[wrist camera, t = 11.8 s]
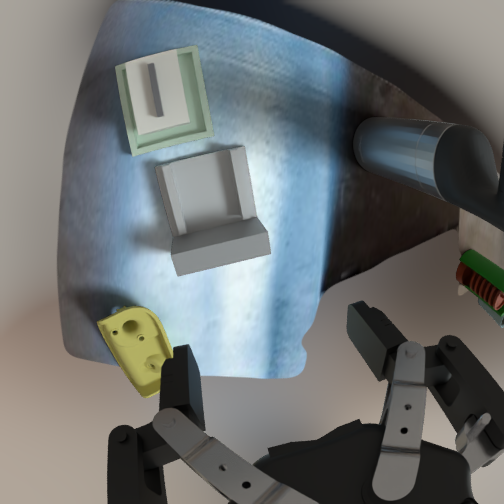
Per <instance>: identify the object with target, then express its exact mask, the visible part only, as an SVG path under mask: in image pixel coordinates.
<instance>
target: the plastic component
mask: <svg viewBox="0 0 504 504" xmlns="http://www.w3.org/2000/svg"><path fill="white" fill-rule="evenodd" d="M97 325H98V327H99V329H100V332H101V334H102V336H103V338H104V339H105V341H106V343H107V345H108V347H109V348H110V350H111V352H112V354H113V355H114V357H115V359H116V360H117V362H118V364H119V365H120V367H121V369H122V370H123V371H124V373H125V374H126V376H127V378H128V379H129V380H130V382H131V383H132V384H133V386H134V387H135V388H136V390H137V391H138V392H139V393H140V395H141V396H142V397H144V398H149V397H151V396H153V395H155V394H157V393H159V392H160V385H161V383H160V379H161V367H162V365H163V363H164V361H165V359H169V358H173V350H172V348H171V345H170V343H169V340H168V338H167V335H166V333H165V330H164V328H163V325H162V323H161V322H160V320H159V318H158V317H157V316H156V315H155V314H154V313H153V312H152V311H151V310H149V309H147V308H145V307H141V306H130V307H127V308H126V306H123V308H121V309H117V312H116V313H114V314H112V315H110V316H108V317H106V318H104V319H101V320H99V321H97ZM115 330H116V331H117V332H116V333H112V332H113V331H115Z"/></svg>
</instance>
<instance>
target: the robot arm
mask: <svg viewBox="0 0 504 504" xmlns="http://www.w3.org/2000/svg"><path fill="white" fill-rule="evenodd" d="M353 149H354V154H355V157H356V159H357V161H358V163H359V164H360V165H361V166H362V167H363V168H364V169H365V170H367V171H369V172H371V173H374V174H377V175H380V176H383V177H385V178H388V179H391V180H394V181H396V182H399V183H402V184H404V185H407V186H410V187H412V188H415V189H417V190H420V191H422V192H425V193H427V194H430V195H433V196H435V197H437V198H440V199H442V200H444V201H447V202H449V203H451V204H454V205H456V206H458V207H460V208H462V209H464V210H466V211H468V212H470V213H472V214H474V215H476V216H478V217H480V218H482V219H483V220H485V221H487V222H489V223H490V224H492V225H494V226H495V227H497V228H498V229H500V230H502V231H503V232H504V158H502V163H501V171H500V178H499V180H498V176H497V171H496V166H495V161H494V155H493V152H492V148H491V146H490V143H489V141H488V140H487V138H486V137H485V135H484V134H483V133H481V132H480V131H479V130H477V129H476V128H474V127H470V126H465V125H458V124H451V123H444V122H434V121H425V120H415V119H402V118H387V117H371V118H368V119H366V120H364V121H363V122H362V123H361V124H360V125H359V126H358V128H357V130H356V132H355V135H354V140H353ZM502 156H503V157H504V145H503V153H502ZM347 333H348V336H349V338H350V339H351V341H352V342H353V344H354V345H355V347H356V348H357V350H358V351H359V353H360V354H361V356H362V357H363V359H364V360H365V362H366V363H367V365H368V366H369V368H370V369H371V371H372V372H373V373H374V375H375V377H376V378H377V380H378V381H382V380H384V379H387V381H388V386H387V391H386V397H385V401H384V406H383V411H382V415H381V419H380V422H379V424H371V423H369V424H362V423H361V422H360V420H359V419H358V420H355V421H353V422H350V423H348V424H345V425H342V426H339V427H337V428H336V429H334V430H333V431H331V432H329V433H328V434H326V435H325V436H323V437H321V438H319V439H317V440H311V441H299V442H290V443H286V444H282V445H278V446H275V447H270V448H268V451H269V454H267V455H265V456H263V457H262V458H260V459H259V460H257V461H256V462H255V463H254V464H253V465H251V464H250V463H248V462H247V461H246V460H244V459H243V458H241V457H240V456H239V455H237V454H236V453H234V452H233V451H232V450H230V449H229V448H228V447H226V446H225V445H224V444H222V443H221V442H220V441H218V440H217V439H216V438H214V437H210V436H208V435H207V434H206V433H204V432H203V431H205V420H204V411H203V401H202V391H201V381H200V380H201V379H200V372H199V368H198V365H197V363H196V360H195V358H194V355H193V353H192V350H191V348H190V346H189V344H187V345H182V346H176V347H174V348H173V358H169V359H165V361H164V363H163V365H162V367H161V379H160V383H161V385H160V403H159V412H158V413H157V414H156V415H155V416H154V419H153V421H152V422H150V423H149V424H147V425H144V426H141V427H139V428H136V429H134V428H133V427H131V426H129V425H121V426H118V427H116V428H114V429H113V430H112V431H111V433H110V435H109V440H108V464H107V494H108V495H107V496H108V497H107V498H108V504H167V496H166V489H165V482H164V472H163V465H165V464H167V463H170V462H173V461H175V460H177V459H181V460H183V461H184V462H185V463H186V464H187V465H188V466H189V467H190V468H191V469H192V470H193V471H194V472H195V473H197V474H198V475H199V476H200V477H201V478H202V479H203V480H205V481H206V482H207V483H208V484H209V485H210V486H211V487H213V488H214V489H215V490H216V491H217V492H218V493H220V494H221V495H222V496H223V497H225V498H226V499H227V500H229V503H228V504H478V503H477V502H476V501H475V499H474V497H473V494H472V489H471V474H472V473H473V472H475V471H476V470H477V469H479V468H480V467H485V466H488V465H489V464H491V463H492V462H493V461H494V460H495V459H496V458H498V457H499V456H500V455H501V454H502V453H503V452H504V391H503V390H502V389H501V387H500V386H499V385H498V384H497V382H496V381H495V380H494V379H493V378H492V376H491V375H490V374H489V372H488V371H487V370H486V369H485V368H484V366H483V365H482V364H481V363H480V362H479V360H478V359H477V358H476V357H475V356H474V354H472V352H471V351H470V350H469V349H468V348H467V346H466V345H465V344H464V343H463V342H462V341H461V340H460V339H459V338H458V337H456V336H452V335H447V336H444V337H442V338H441V339H440V341H439V343H438V345H435V346H428V347H423V346H422V345H421V344H419V343H417V342H413V341H408V340H407V339H406V338H405V337H404V336H403V335H402V333H401V332H400V331H399V330H398V329H397V328H396V327H395V325H394V324H392V322H391V321H390V320H389V319H388V318H387V316H386V315H385V314H384V313H383V312H382V311H380V310H378V309H377V308H374V307H372V308H369V307H368V305H367V304H366V303H365V302H364V301H359V302H356V303H353V304H350V305H348V313H347ZM427 387H428V389H429V390H430V392H431V393H432V395H433V396H434V398H435V399H436V401H437V402H438V404H439V405H440V407H441V408H442V410H443V411H444V413H445V415H446V416H447V418H448V419H449V421H450V423H451V424H452V426H453V427H454V429H455V431H456V432H457V435H456V439H455V443H456V449H457V451H458V452H457V451H454V450H451V449H448V448H445V447H442V446H439V445H436V444H433V443H430V442H427V441H424V440H421V437H422V430H423V423H424V414H425V404H426V391H427Z"/></svg>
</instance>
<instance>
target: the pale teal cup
mask: <svg viewBox="0 0 504 504" xmlns="http://www.w3.org/2000/svg"><path fill="white" fill-rule="evenodd" d="M478 303H479V305H480V306H481V307H482V308H483V309H484V310H486V312H487V313H488V314H489V315H490V316H491V317H492V318H493V319H494V320H495V321H496V322H497V324H498V325H499V326H500V327H501V328H503V327H504V315H503V316H502V317H500V316H499V315H498V314H497V313H496V312H495V311H493V310H492V309H491V308H490V307H489V306H488V305H486V304H485V303H484V302H483V301H482V300H481V299H478Z"/></svg>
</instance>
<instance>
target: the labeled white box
mask: <svg viewBox="0 0 504 504" xmlns="http://www.w3.org/2000/svg"><path fill="white" fill-rule="evenodd" d="M125 66H126V73H127V79H128V84H129V90H130V96H131V101H132V106H133V111H134V116H135V121H136V126H137V130H138V135H145V134H152V133H155V132H159V131H163V130H167V129H170V128H174V127H178V126H183V125H187V124H190V119H189V114H188V109H187V104H186V98H185V93H184V88H183V83H182V77H181V72H180V66H179V61H178V56H177V51H176V49H173V50H169V51H165V52H161V53H157V54H153V55H149V56H146V57H142V58H139V59H135V60H132V61H129V62H126V63H125Z"/></svg>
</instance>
